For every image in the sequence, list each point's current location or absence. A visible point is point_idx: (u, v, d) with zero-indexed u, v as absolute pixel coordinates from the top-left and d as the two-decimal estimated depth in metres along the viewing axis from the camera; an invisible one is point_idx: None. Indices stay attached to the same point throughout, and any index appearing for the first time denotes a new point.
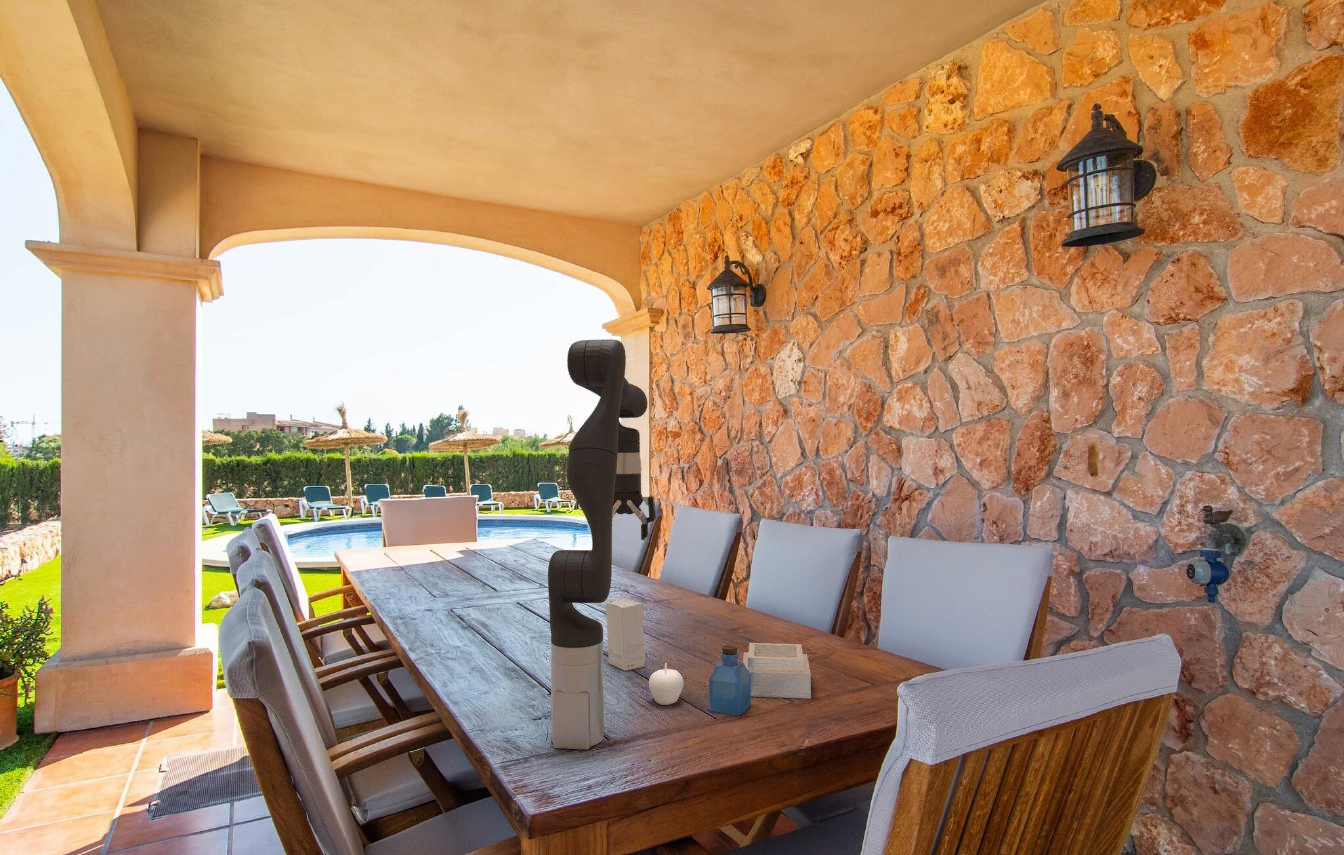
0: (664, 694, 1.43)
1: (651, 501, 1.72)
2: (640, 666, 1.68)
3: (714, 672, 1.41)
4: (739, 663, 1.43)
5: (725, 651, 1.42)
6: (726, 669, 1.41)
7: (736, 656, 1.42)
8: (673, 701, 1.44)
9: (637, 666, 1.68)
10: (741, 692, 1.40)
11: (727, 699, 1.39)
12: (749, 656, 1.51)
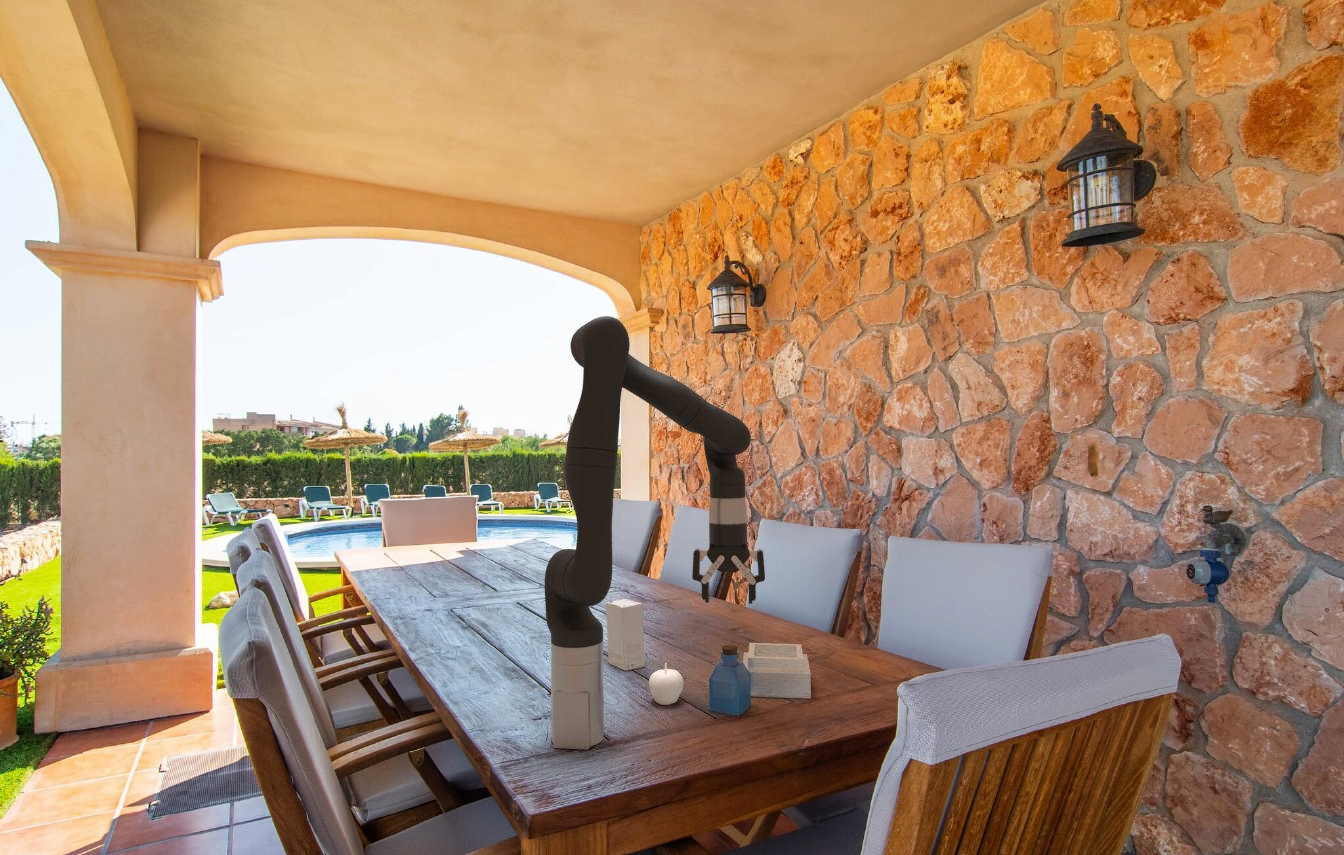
0: (664, 694, 1.43)
1: (761, 557, 1.41)
2: (640, 666, 1.68)
3: (714, 672, 1.41)
4: (739, 663, 1.43)
5: (725, 651, 1.42)
6: (726, 669, 1.41)
7: (736, 656, 1.42)
8: (673, 701, 1.44)
9: (637, 666, 1.68)
10: (741, 692, 1.40)
11: (727, 699, 1.39)
12: (749, 656, 1.51)
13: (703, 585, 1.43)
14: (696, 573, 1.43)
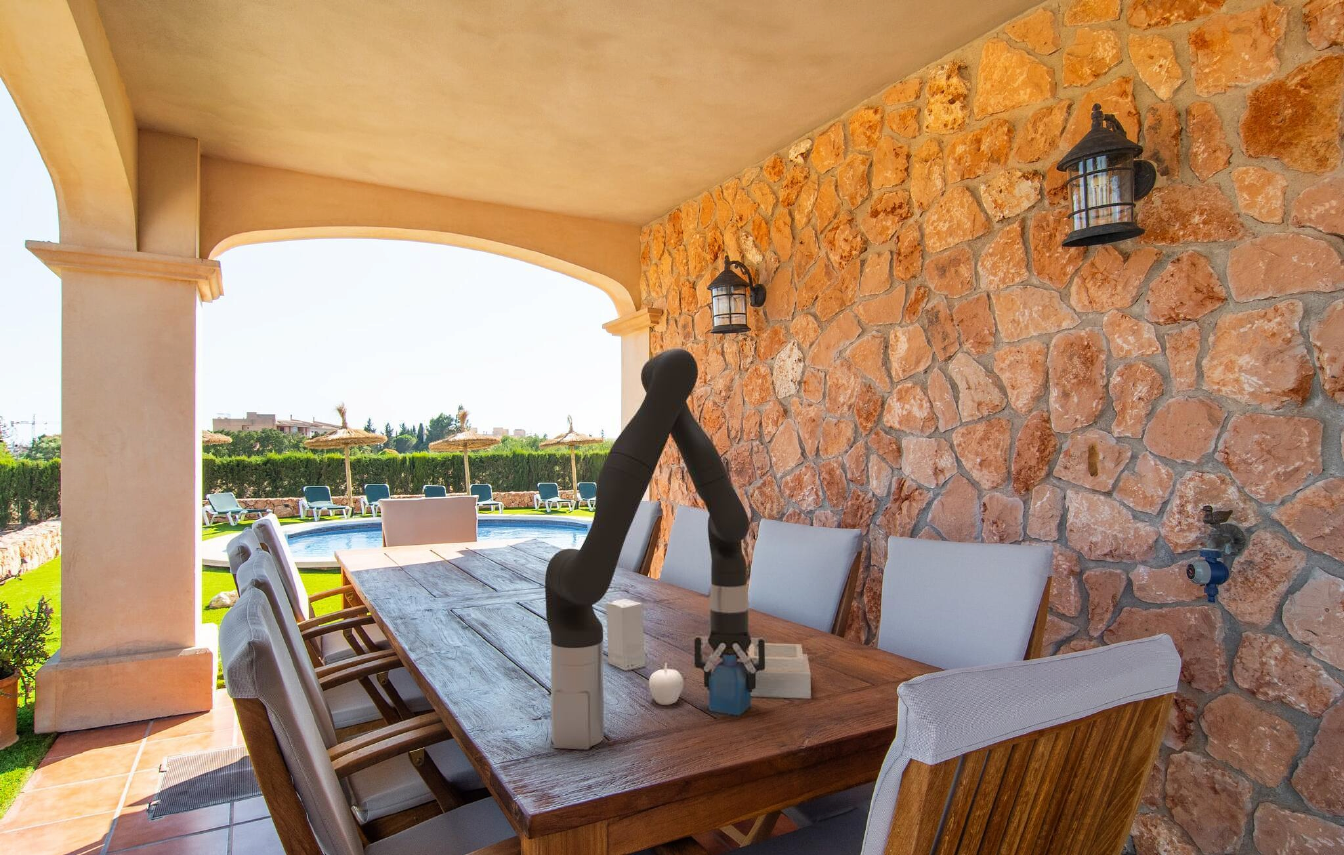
0: (664, 694, 1.43)
1: (762, 645, 1.41)
2: (640, 666, 1.68)
3: (714, 672, 1.41)
4: (739, 663, 1.43)
5: (725, 651, 1.42)
6: (726, 669, 1.41)
7: None
8: (673, 701, 1.44)
9: (637, 666, 1.68)
10: (741, 691, 1.40)
11: (727, 699, 1.40)
12: None
13: (705, 673, 1.43)
14: (698, 661, 1.42)
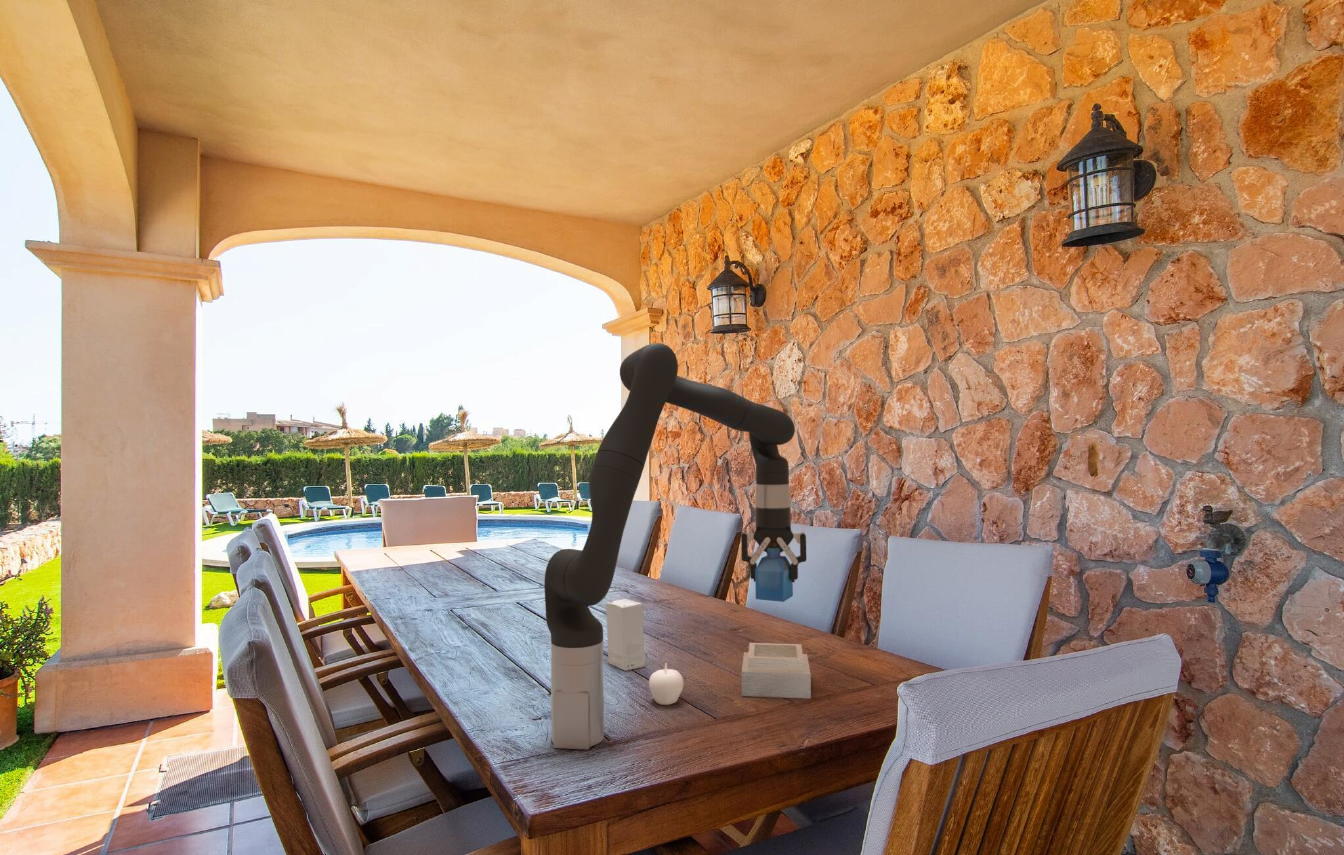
0: (664, 694, 1.43)
1: (804, 539, 1.54)
2: (640, 666, 1.68)
3: (760, 564, 1.54)
4: (782, 556, 1.56)
5: (770, 545, 1.55)
6: (771, 561, 1.54)
7: None
8: (673, 701, 1.44)
9: (637, 666, 1.68)
10: (785, 580, 1.53)
11: (772, 587, 1.53)
12: (749, 656, 1.51)
13: (751, 565, 1.56)
14: (745, 554, 1.55)
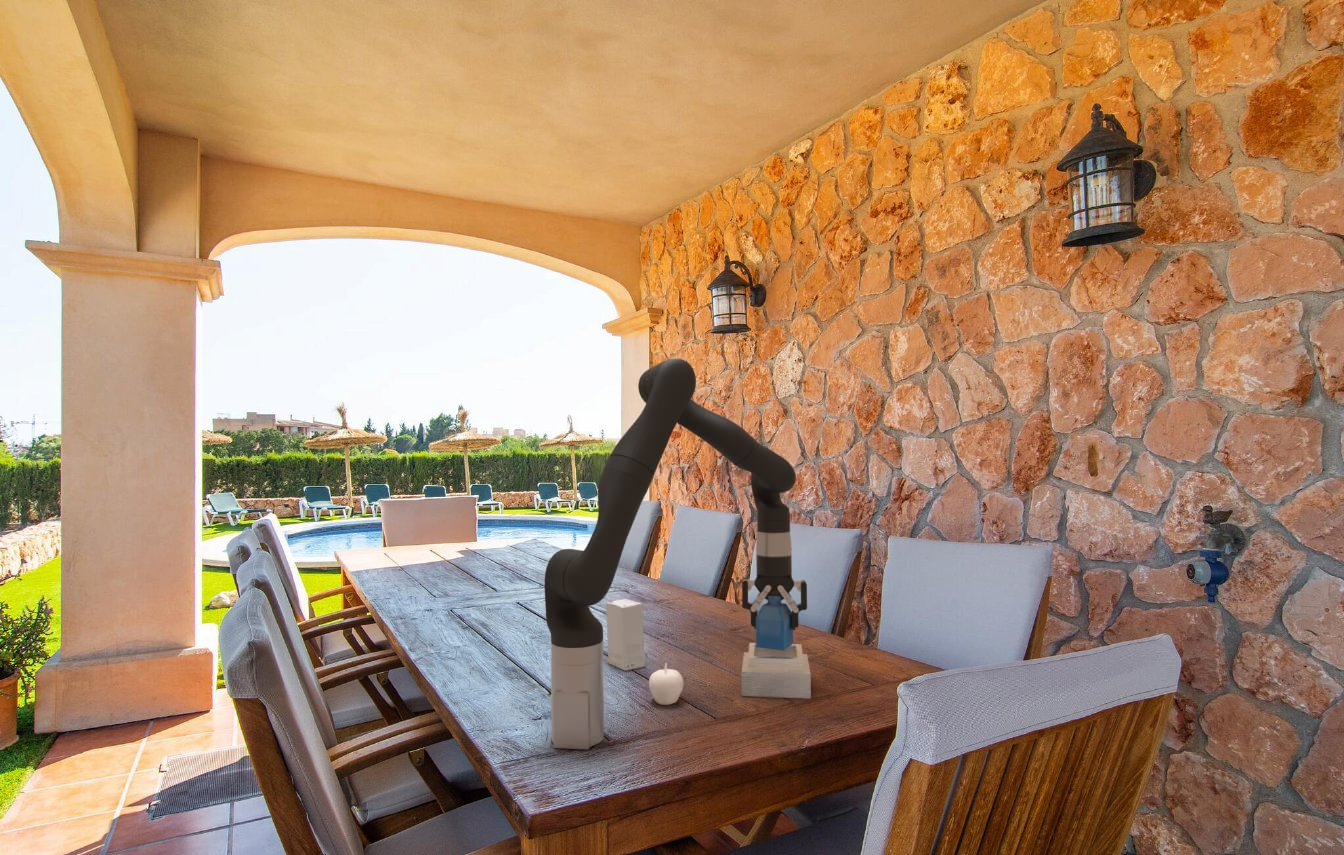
0: (664, 694, 1.43)
1: (804, 587, 1.54)
2: (640, 666, 1.68)
3: (760, 611, 1.54)
4: (783, 604, 1.56)
5: (770, 592, 1.55)
6: (771, 609, 1.54)
7: None
8: (673, 701, 1.44)
9: (637, 666, 1.68)
10: (786, 629, 1.53)
11: (772, 635, 1.52)
12: (749, 656, 1.51)
13: (752, 613, 1.55)
14: (745, 602, 1.55)
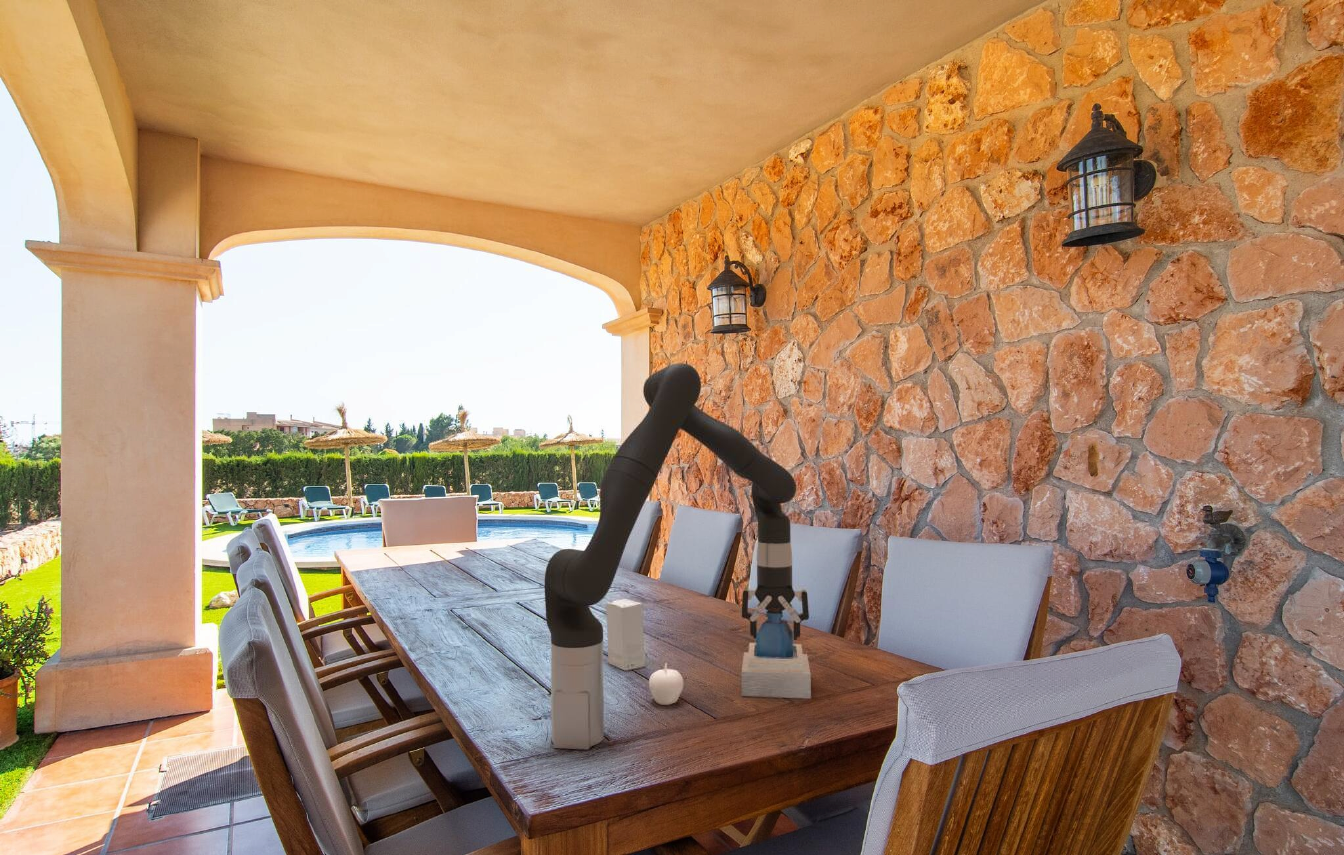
0: (664, 694, 1.43)
1: (805, 597, 1.54)
2: (640, 666, 1.68)
3: (761, 629, 1.54)
4: (783, 621, 1.56)
5: (771, 610, 1.54)
6: (772, 626, 1.53)
7: (781, 614, 1.54)
8: (673, 701, 1.44)
9: (637, 666, 1.68)
10: (786, 646, 1.53)
11: (773, 653, 1.52)
12: (749, 656, 1.51)
13: (751, 622, 1.55)
14: (745, 611, 1.55)
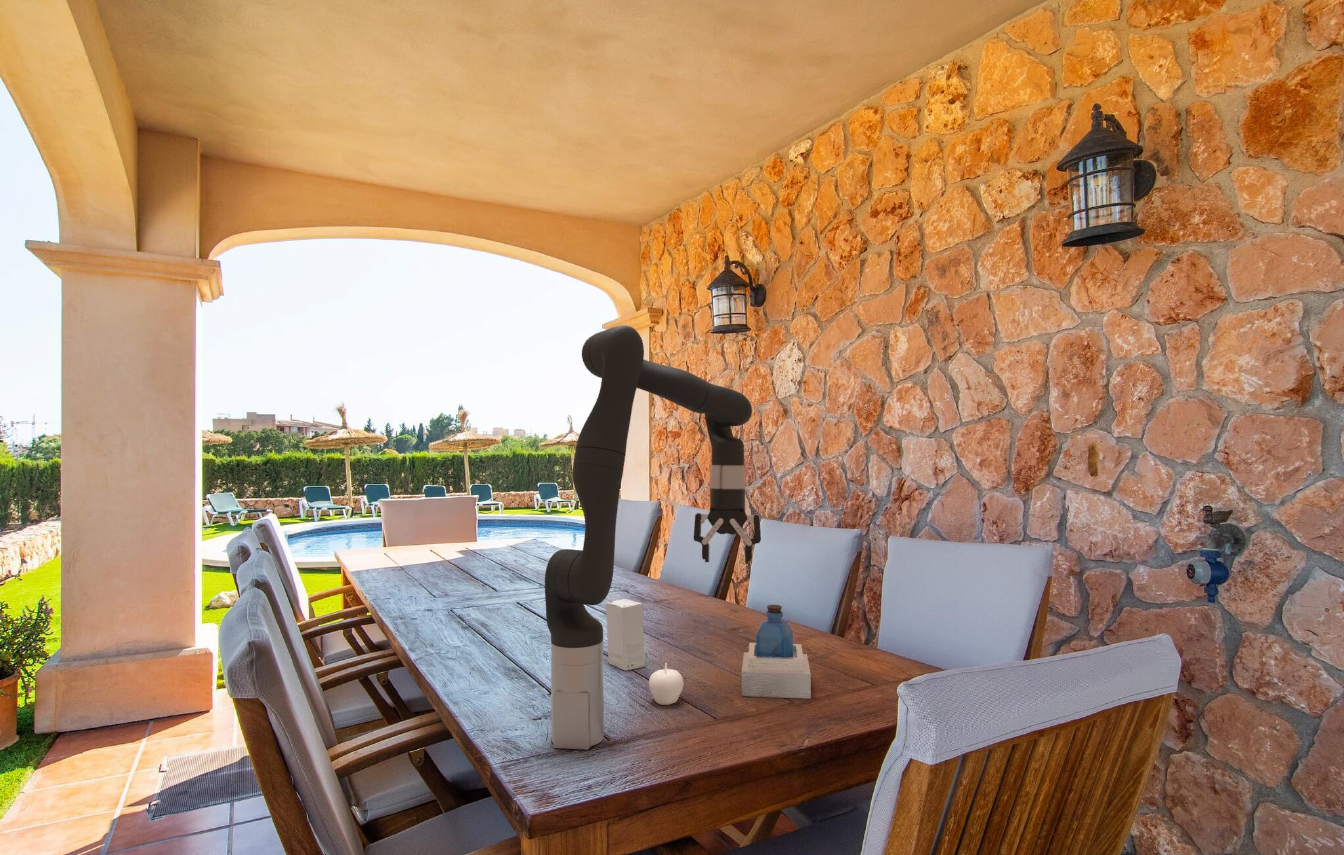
0: (664, 694, 1.43)
1: (757, 520, 1.53)
2: (640, 666, 1.68)
3: (761, 629, 1.54)
4: (783, 621, 1.56)
5: (771, 610, 1.54)
6: (772, 626, 1.53)
7: (781, 614, 1.54)
8: (673, 701, 1.44)
9: (637, 666, 1.68)
10: (786, 646, 1.53)
11: (773, 653, 1.52)
12: (749, 656, 1.51)
13: (703, 546, 1.55)
14: (697, 534, 1.55)
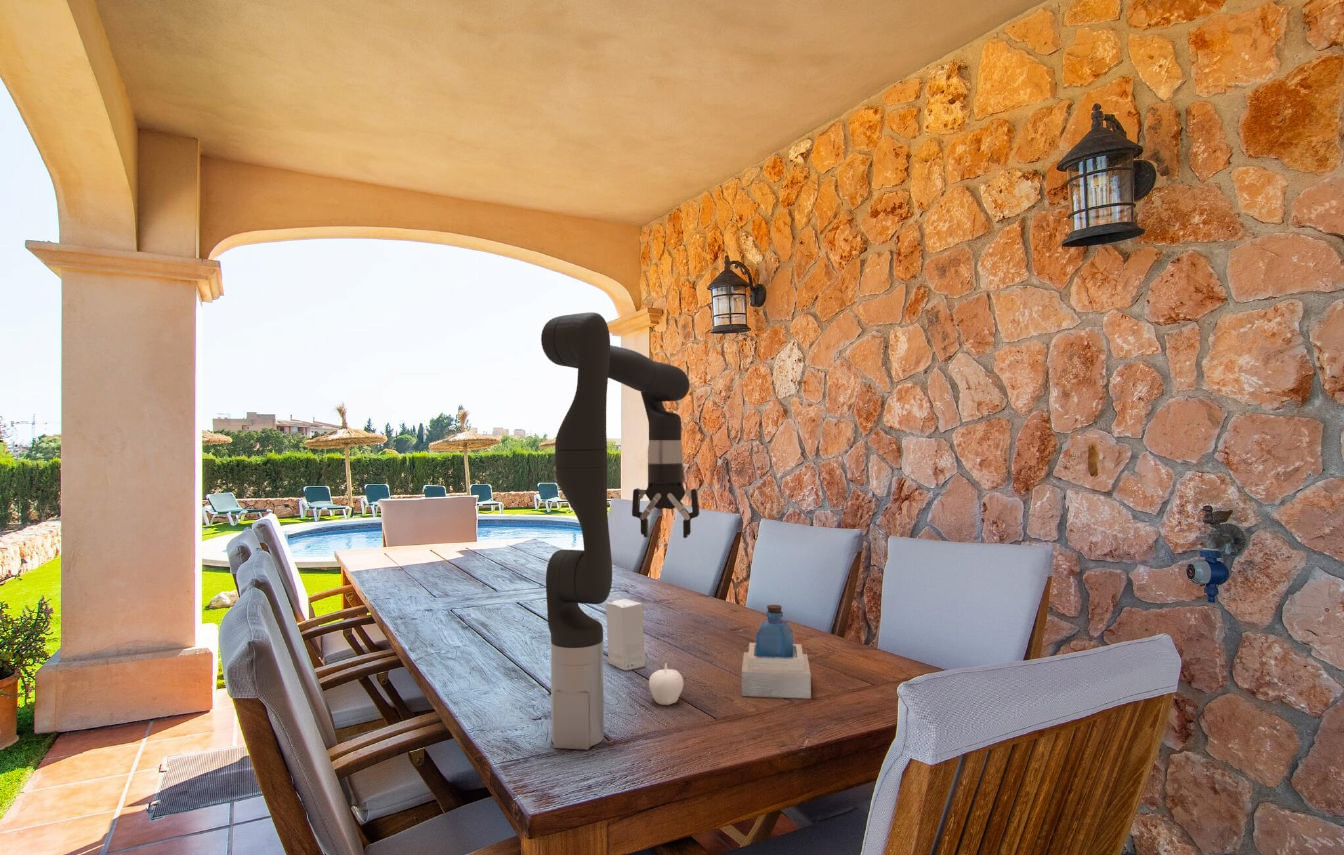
0: (664, 694, 1.43)
1: (694, 494, 1.53)
2: (640, 666, 1.68)
3: (761, 629, 1.54)
4: (783, 621, 1.56)
5: (771, 610, 1.54)
6: (772, 626, 1.53)
7: (781, 614, 1.54)
8: (673, 701, 1.44)
9: (637, 666, 1.68)
10: (786, 646, 1.53)
11: (773, 653, 1.52)
12: (749, 656, 1.51)
13: (642, 521, 1.55)
14: (635, 510, 1.55)
